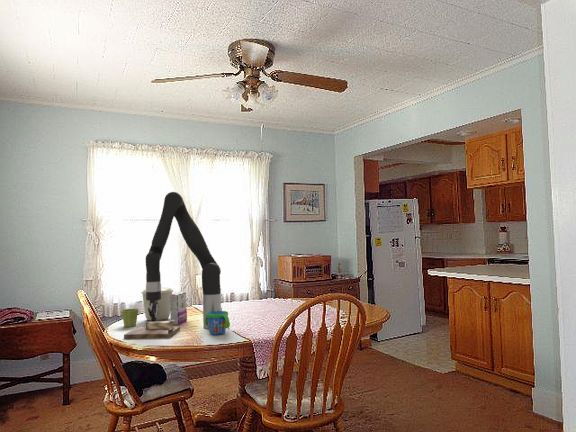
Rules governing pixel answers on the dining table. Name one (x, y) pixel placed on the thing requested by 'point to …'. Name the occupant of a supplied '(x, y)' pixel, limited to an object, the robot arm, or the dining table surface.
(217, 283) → the robot arm
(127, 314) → the plant pot
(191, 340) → the dining table surface
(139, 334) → the walnut board
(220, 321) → the snack cup
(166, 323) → the folding leg
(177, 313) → the candy bar box
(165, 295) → the canister
